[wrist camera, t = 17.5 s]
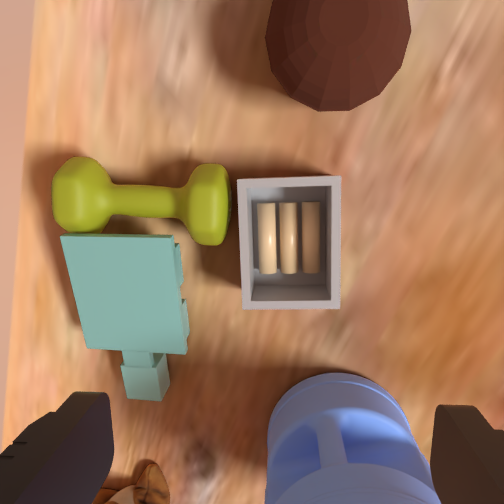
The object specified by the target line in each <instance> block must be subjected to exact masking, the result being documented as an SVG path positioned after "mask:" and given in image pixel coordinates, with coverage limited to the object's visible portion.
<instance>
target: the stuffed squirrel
mask: <svg viewBox="0 0 504 504" xmlns="http://www.w3.org/2000/svg"><path fill="white" fill-rule="evenodd" d="M92 503H93V504H170V493H169V489H168V486H167V483H166V480H165V478H164V475H163V473H162V471H161V470H160V468H159V466H158V465H157V464H149V465H148V466H147V467H146V468H145V470H144V471H143V473H142V474H141V476H140V478H139V479H138V481H137V483H136V485H131V486H128V487H125V488H124V489H122V490H120V491H119V492H118V491H116V490H110V489H104V488H100V490H99V492H98V493H97V495H96V497H95V499H94V501H93V502H92Z"/></svg>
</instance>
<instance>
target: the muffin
mask: <svg viewBox="0 0 504 504" xmlns="http://www.w3.org/2000/svg"><path fill="white" fill-rule="evenodd" d="M410 34H411V25H410V17H409V10H408V2H407V0H273V2H272V7H271V11H270V16H269V21H268V26H267V31H266V35H265V39H266V44H267V50H268V55H269V60H270V65H271V70H272V72H273V74H274V75H275V77H276V78H277V79H278V81H279V82H280V83H281V85H282V86H283V88H284V89H285V90H286V92H287V93H288V95H289V96H290V97H291V98H293V99H295V100H297V101H299V102H301V103H303V104H305V105H307V106H309V107H310V108H312V109H314V110H316V111H350V110H352V109H353V108H355V107H357V106H359V105H361V104H363V103H365V102H367V101H368V100H370V99H372V98H374V97H376V96H378V95H379V94H380V93H381V92H382V91H383V89H384V88H385V87H386V85H387V84H388V83H389V82H390V80H391V79H392V78H393V77H394V75H395V74H396V73H397V71H398V70H399V69H400V68H401V66H402V62H403V59H404V55H405V52H406V48H407V44H408V41H409V37H410Z"/></svg>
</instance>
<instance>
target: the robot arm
mask: <svg viewBox="0 0 504 504" xmlns="http://www.w3.org/2000/svg"><path fill="white" fill-rule="evenodd" d="M113 456H114V440H113V430H112V420H111V409H110V400H109V397H108V395H107V393H104V392H74V393H72V394H71V395H70V396H69V398H68V399H67V400H66V401H65V402H64V403H63V404H62V405H61V406H60V407H59V408H58V410H57V411H56V412H49V413H47V414H46V415H44V416H43V417H41V418H39V419H38V420H36V421H35V422H33V423H31V424H30V425H28V427H27V428H26V429H25V430H24V431H23V432H22V433H21V434H20V435H19V436H18V437H17V438H16V439H15V440H14V441H13V444H12V445H9V446H8V447H7V448H6V449H5V450H4V451H3V452H2V453H1V454H0V504H92V502H93V501H94V499H95V497H96V495H97V493H98V492H99V490H100V488H101V486H102V484H103V483H104V481H105V479H106V477H107V475H108V473H109V471H110V468H111V465H112V461H113ZM430 470H431V477H432V482H433V486H434V489H435V491H436V494H437V496H438V498H439V500H440V502H441V504H504V431H503V430H494V429H493V428H492V427H491V425H490V424H489V423H488V422H487V420H486V419H485V418H484V417H483V415H482V414H481V413H480V412H479V410H478V409H477V408H476V407H474V406H468V405H438V406H437V408H436V411H435V418H434V428H433V438H432V448H431V457H430Z"/></svg>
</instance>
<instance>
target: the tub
mask: <svg viewBox="0 0 504 504" xmlns="http://www.w3.org/2000/svg"><path fill="white" fill-rule="evenodd" d="M237 192H238V216H239V239H240V262H241V285H242V309H243V310H253V309H340V256H341V176H338V175H323V176H295V177H267V178H243V179H237Z"/></svg>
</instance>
